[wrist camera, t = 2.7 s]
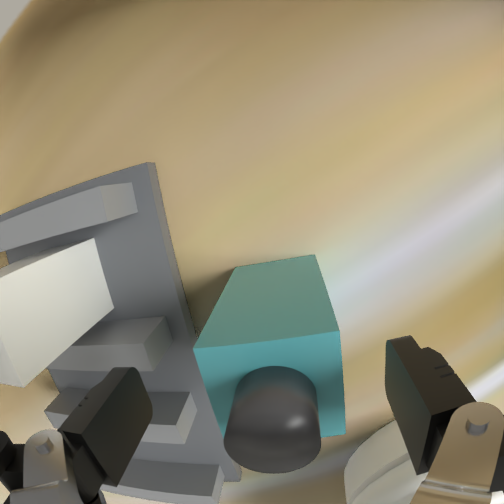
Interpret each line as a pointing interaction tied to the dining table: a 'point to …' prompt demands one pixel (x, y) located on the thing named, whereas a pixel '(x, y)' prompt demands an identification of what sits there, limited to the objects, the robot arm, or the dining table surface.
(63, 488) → the robot arm
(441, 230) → the dining table surface
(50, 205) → the comb board
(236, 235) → the dining table surface
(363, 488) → the honey pot
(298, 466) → the teal plug
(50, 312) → the white plug
